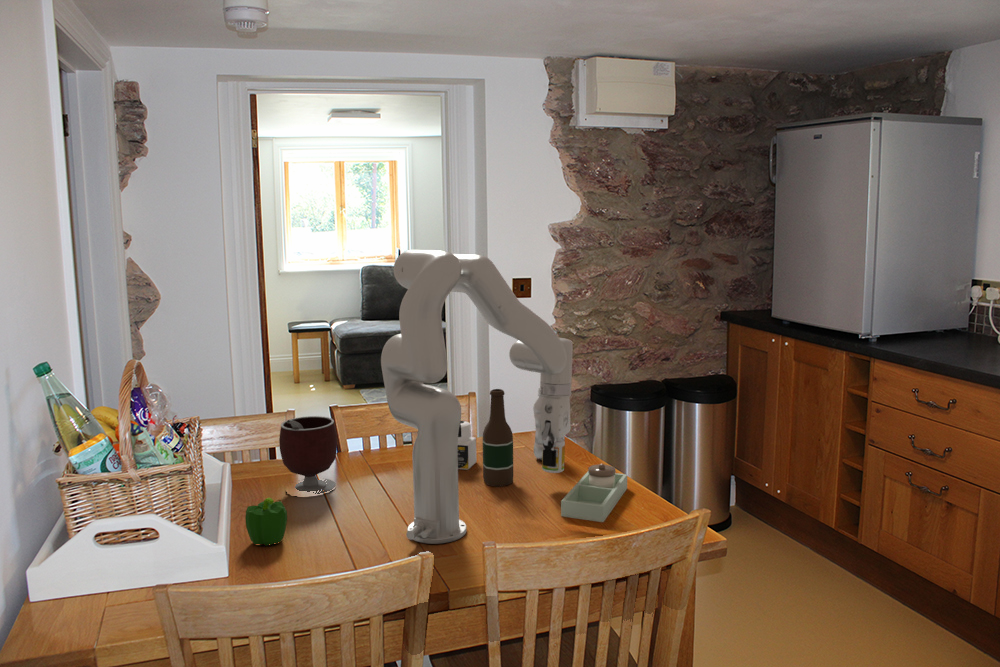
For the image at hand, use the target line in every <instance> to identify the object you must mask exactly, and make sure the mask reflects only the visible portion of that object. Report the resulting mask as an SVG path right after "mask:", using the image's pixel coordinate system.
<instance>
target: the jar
mask: <svg viewBox="0 0 1000 667" xmlns="http://www.w3.org/2000/svg"><path fill="white" fill-rule="evenodd" d="M587 472H588V473H589V486H596V487H604V488H612V489H613V488H614V486H615V473H616V468H615V466H612V465H610V464H609V465H608V464H604V463H599V464H592V465H590V466H589V467H588V470H587Z"/></svg>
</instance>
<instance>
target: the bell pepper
mask: <svg viewBox="0 0 1000 667" xmlns="http://www.w3.org/2000/svg"><path fill="white" fill-rule="evenodd" d="M244 516H245V517H244V518H245V520H244V521H245V527H246V528H245V529H246V531H247V534H248V537H249V539H250V541H251V542H252V544H254V545H255V544H265V545H264V546H268V545H269V544H270V545H271V544H274V543H278V542H280V541H281V540H282V541H283V539H284V536H285V533H286V528H287V523H288V510H287V509H286V507H285V506H284V503H283V502H282V501H281V500H279V501H274V499H272V498H271V497H267V498H265V499H264V500H263V501H261V502H259V503H258V504H257V505H249V506H247V507H246V510H245V515H244ZM282 541H281V542H282ZM281 542H280V543H281ZM278 544H279V543H278Z"/></svg>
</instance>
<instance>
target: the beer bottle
mask: <svg viewBox="0 0 1000 667" xmlns="http://www.w3.org/2000/svg"><path fill="white" fill-rule="evenodd" d="M489 395H490V409H489V419H488V422H487V424H486V425H485V426H484V430H483V432H482V474H483V475H482V476H483V477H482V478H483V482H484V483H485V484H486V486H490V487H497V488H498V487H507V486H509V485H510V484H512V483H513V482H514V438H513V437H514V435H513V431H512V429H511V427H510V424H508V422H507V419H506V412H505V411H506V410H505V398H504V395H506V394H505V391H504V389H501V388H495V389H491V390H490V392H489Z"/></svg>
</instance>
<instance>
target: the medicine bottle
mask: <svg viewBox="0 0 1000 667" xmlns="http://www.w3.org/2000/svg"><path fill="white" fill-rule="evenodd" d="M471 425H472V424H471V423H470V422H468V421H465V420H461V421H460V426H459V433H458V470H466V471H469V469H471V468H472V467H473V466H474V465H475V464H476V463H477V459H478V458H477V437H475V436H474V437H473V436H472V430H471V429H472V426H471Z"/></svg>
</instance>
